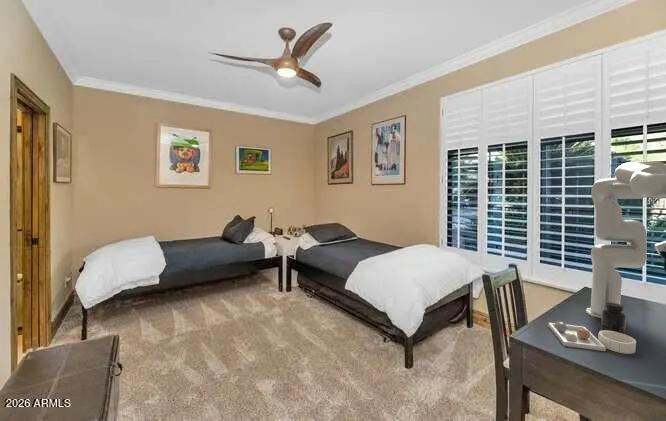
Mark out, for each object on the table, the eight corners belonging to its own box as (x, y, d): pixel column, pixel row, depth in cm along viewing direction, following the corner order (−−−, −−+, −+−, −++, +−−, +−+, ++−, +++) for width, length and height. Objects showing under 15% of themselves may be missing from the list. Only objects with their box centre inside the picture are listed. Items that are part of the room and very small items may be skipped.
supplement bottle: (627, 341, 112) (629, 309, 111) (602, 336, 116) (604, 305, 115) (622, 333, 118) (624, 303, 117) (598, 329, 122) (600, 300, 121)
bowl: (593, 339, 114) (593, 328, 114) (625, 343, 111) (625, 332, 111) (606, 352, 105) (607, 341, 105) (642, 357, 102) (642, 345, 102)
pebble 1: (554, 329, 121) (554, 320, 121) (564, 330, 120) (565, 321, 120) (557, 333, 118) (557, 324, 117) (568, 334, 117) (569, 325, 116)
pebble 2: (563, 339, 113) (564, 330, 112) (574, 341, 112) (575, 332, 111) (567, 344, 110) (567, 335, 109) (578, 345, 108) (579, 336, 108)
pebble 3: (580, 340, 112) (580, 330, 112) (575, 335, 116) (576, 326, 115) (591, 341, 111) (592, 332, 111) (587, 337, 114) (587, 327, 114)
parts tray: (548, 327, 124) (548, 322, 124) (584, 331, 120) (584, 326, 120) (564, 347, 109) (564, 341, 108) (605, 352, 105) (605, 347, 105)
